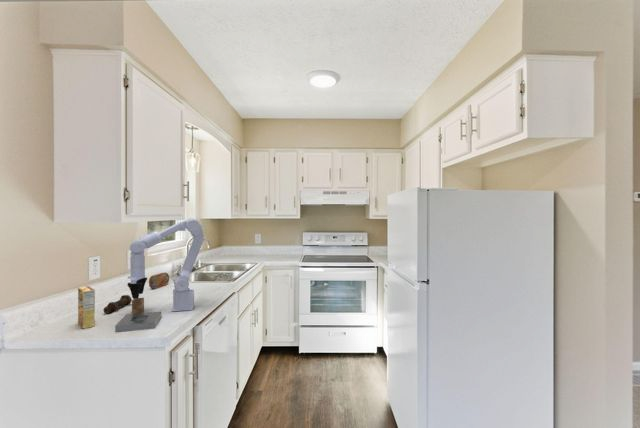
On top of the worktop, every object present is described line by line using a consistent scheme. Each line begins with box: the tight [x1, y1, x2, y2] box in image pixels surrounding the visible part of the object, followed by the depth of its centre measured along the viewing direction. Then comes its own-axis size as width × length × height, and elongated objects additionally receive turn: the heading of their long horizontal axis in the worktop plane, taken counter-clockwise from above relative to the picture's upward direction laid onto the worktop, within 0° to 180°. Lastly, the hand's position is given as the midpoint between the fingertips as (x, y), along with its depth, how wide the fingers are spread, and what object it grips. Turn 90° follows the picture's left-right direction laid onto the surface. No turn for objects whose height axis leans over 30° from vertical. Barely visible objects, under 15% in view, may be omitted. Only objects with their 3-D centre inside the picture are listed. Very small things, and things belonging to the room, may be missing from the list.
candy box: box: [77, 286, 96, 330], centre depth 130 cm, size 9×4×15 cm, turn 49°
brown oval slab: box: [148, 272, 170, 290], centre depth 194 cm, size 15×3×8 cm, turn 167°
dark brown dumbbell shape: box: [102, 294, 133, 314], centre depth 151 cm, size 6×5×15 cm
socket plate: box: [114, 310, 163, 333], centre depth 132 cm, size 14×14×2 cm
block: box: [131, 297, 145, 314], centre depth 144 cm, size 4×4×7 cm
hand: (137, 295), depth 144 cm, fingers open, 7 cm apart
